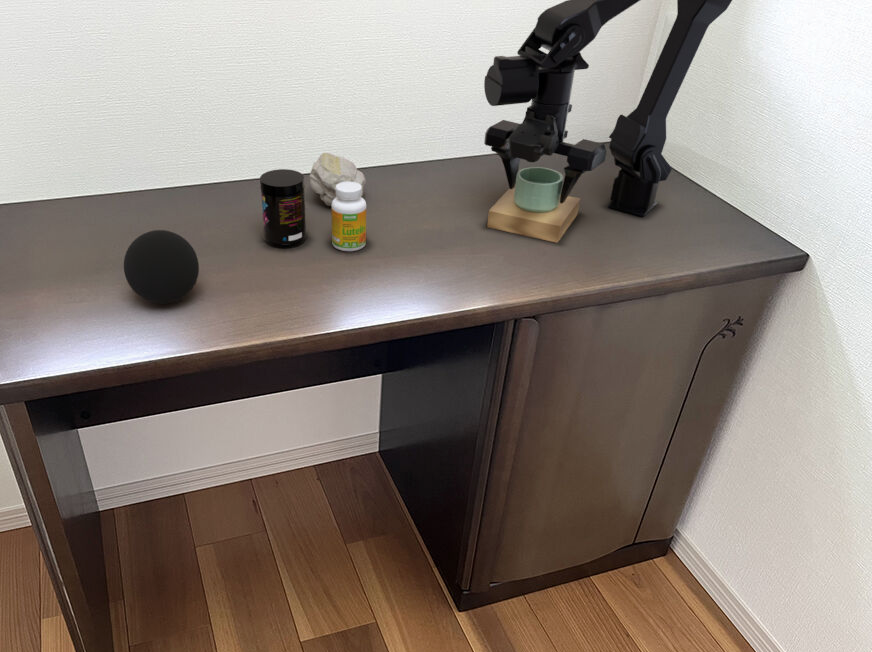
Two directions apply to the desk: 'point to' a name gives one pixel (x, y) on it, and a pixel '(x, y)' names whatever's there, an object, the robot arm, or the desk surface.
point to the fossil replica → (333, 176)
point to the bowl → (538, 189)
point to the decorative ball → (161, 266)
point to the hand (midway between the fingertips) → (536, 195)
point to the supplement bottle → (348, 217)
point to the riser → (532, 218)
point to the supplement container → (283, 207)
